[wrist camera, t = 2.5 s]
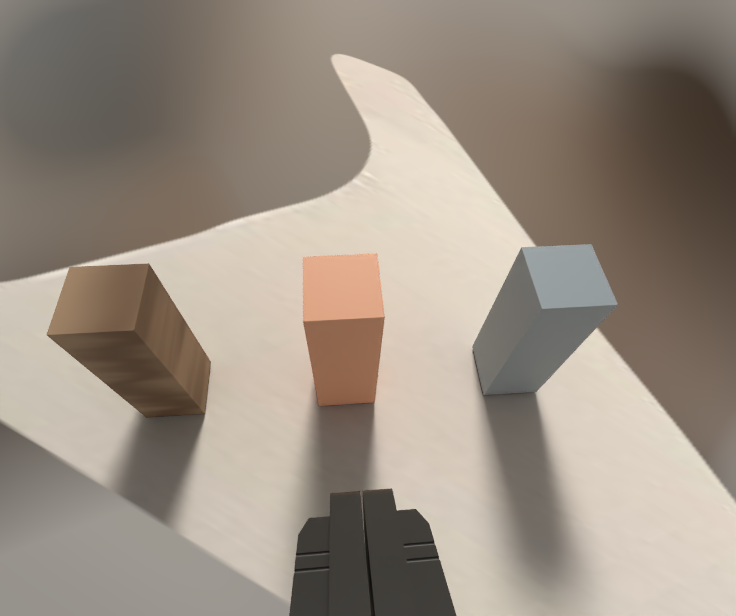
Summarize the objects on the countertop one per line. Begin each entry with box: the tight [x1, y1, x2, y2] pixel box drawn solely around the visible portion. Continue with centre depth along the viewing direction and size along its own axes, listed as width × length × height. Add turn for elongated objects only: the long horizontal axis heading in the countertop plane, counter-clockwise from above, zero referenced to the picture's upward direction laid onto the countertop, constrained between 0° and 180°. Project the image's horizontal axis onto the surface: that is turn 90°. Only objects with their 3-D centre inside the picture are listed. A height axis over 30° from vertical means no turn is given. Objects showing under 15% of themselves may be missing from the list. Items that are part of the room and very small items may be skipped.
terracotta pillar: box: [303, 254, 385, 406], centre depth 28 cm, size 4×4×12 cm
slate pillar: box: [472, 244, 618, 395], centre depth 29 cm, size 4×4×12 cm
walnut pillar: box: [47, 264, 211, 417], centre depth 27 cm, size 4×4×12 cm
